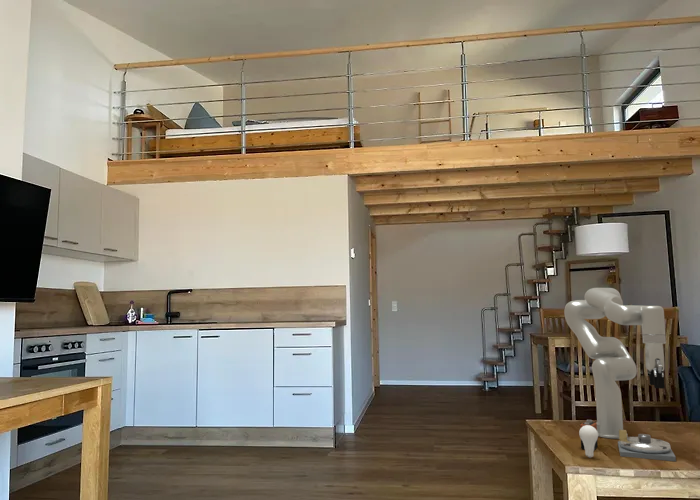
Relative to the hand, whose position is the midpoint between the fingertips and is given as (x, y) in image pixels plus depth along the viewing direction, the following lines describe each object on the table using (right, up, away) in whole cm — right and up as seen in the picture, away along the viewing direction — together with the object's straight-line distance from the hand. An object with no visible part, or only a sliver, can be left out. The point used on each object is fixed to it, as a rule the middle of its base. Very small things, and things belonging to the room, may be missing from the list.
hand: (657, 386), depth 200 cm
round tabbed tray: (-6, -22, -2) cm, 22 cm away
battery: (-23, -24, +4) cm, 34 cm away
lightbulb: (-29, -23, -9) cm, 38 cm away
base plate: (-6, -23, -3) cm, 24 cm away
